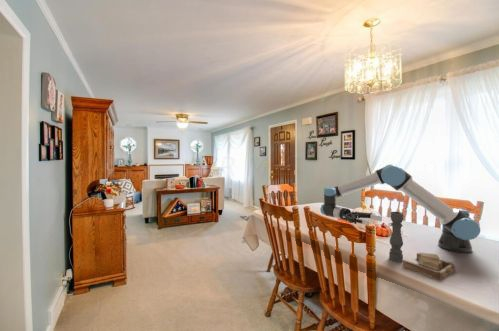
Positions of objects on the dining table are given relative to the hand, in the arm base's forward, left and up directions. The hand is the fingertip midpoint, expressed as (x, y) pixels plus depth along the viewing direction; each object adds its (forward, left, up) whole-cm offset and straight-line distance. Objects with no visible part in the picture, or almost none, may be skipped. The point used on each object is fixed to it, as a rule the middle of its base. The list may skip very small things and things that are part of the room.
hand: (375, 220), depth 134 cm
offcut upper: (-6, +24, -15) cm, 29 cm away
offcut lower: (-7, +24, -18) cm, 31 cm away
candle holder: (0, +12, -18) cm, 22 cm away
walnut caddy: (-3, +25, -18) cm, 31 cm away
